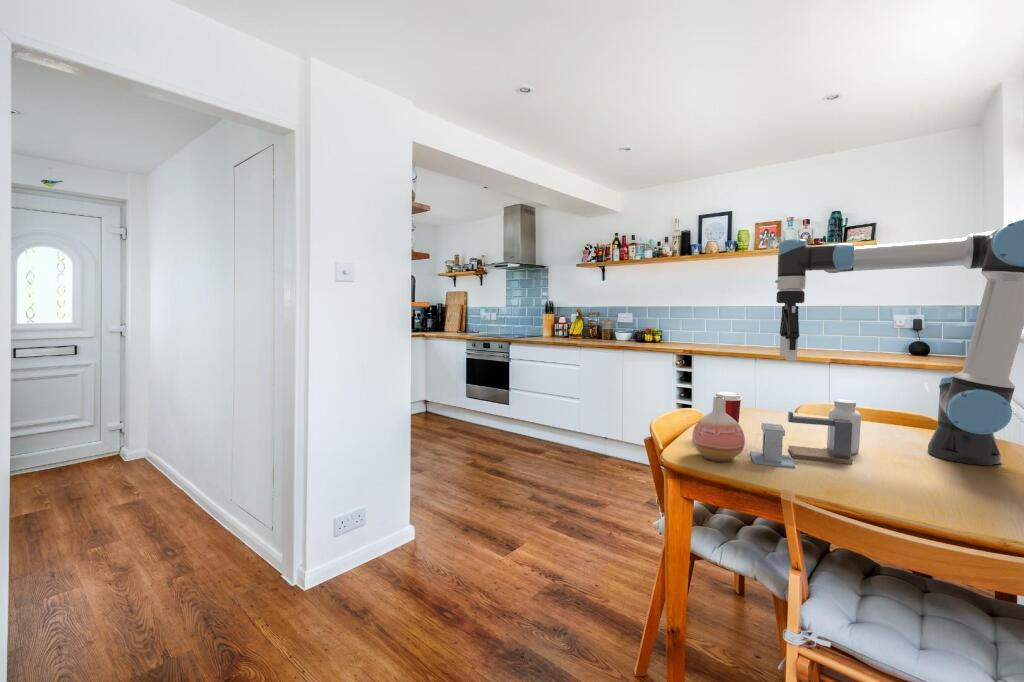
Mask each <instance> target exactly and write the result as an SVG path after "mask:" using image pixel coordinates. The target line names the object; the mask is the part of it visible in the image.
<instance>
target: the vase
mask: <svg viewBox="0 0 1024 682" xmlns="http://www.w3.org/2000/svg"><path fill="white" fill-rule="evenodd" d="M714 396H715V395H714ZM714 396H713V400H712V411H711V412H709V413H707V414H706V415H704V416H702V417H701V418H700V419H699V420H698V421H697V422H696V424H695V425H694V427H693V430H692V434H691V435H692V440H691V441H692V444H693V446H694V448H695V450H697V451H698V453H700V454H701V455H702V457H703V458H705V459H706V460H709V461H711V462H712V461H713V462H718V463H719V462H720V463H727V462H730V461H732V460H733V459H734V458H736V457H738V456H739V455H740V454H741V453H742V452H743V450H744V448H745V444H746V437H745V432H744V430H743V427H742V426H741V425H740V423H739V424H738V423H737V422H736V421H735V420H734V419H733V418H732V417H731V416H729V415H728V414H727V413H726V412H725V397H721V396H715V397H714Z"/></svg>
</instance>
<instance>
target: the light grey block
mask: <svg viewBox="0 0 1024 682" xmlns="http://www.w3.org/2000/svg"><path fill="white" fill-rule="evenodd" d="M760 426H761V430H762V449H761V450H762V451H761V452H762V455H763V456H764V460H765V461H768V462H777V463H782V455H783V441H784V440H783V439H784V437H786V430H785V428H784V426H783V425H782V424H781V423H780V424H779V423H768V422H761V425H760Z"/></svg>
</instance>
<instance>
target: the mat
mask: <svg viewBox="0 0 1024 682" xmlns="http://www.w3.org/2000/svg"><path fill="white" fill-rule="evenodd" d="M749 453H750V457H751V461H752V463H753V464H755V465H764V466H773V467H779V468H780V467H781V468H791V469H796V465H795V463H794V461H793V460H792V457H791V456H790V455H789V454H782V463H777V462H768V461H765V460H764V456H763V455H762V451H752V450H751V451H750V452H749Z"/></svg>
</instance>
